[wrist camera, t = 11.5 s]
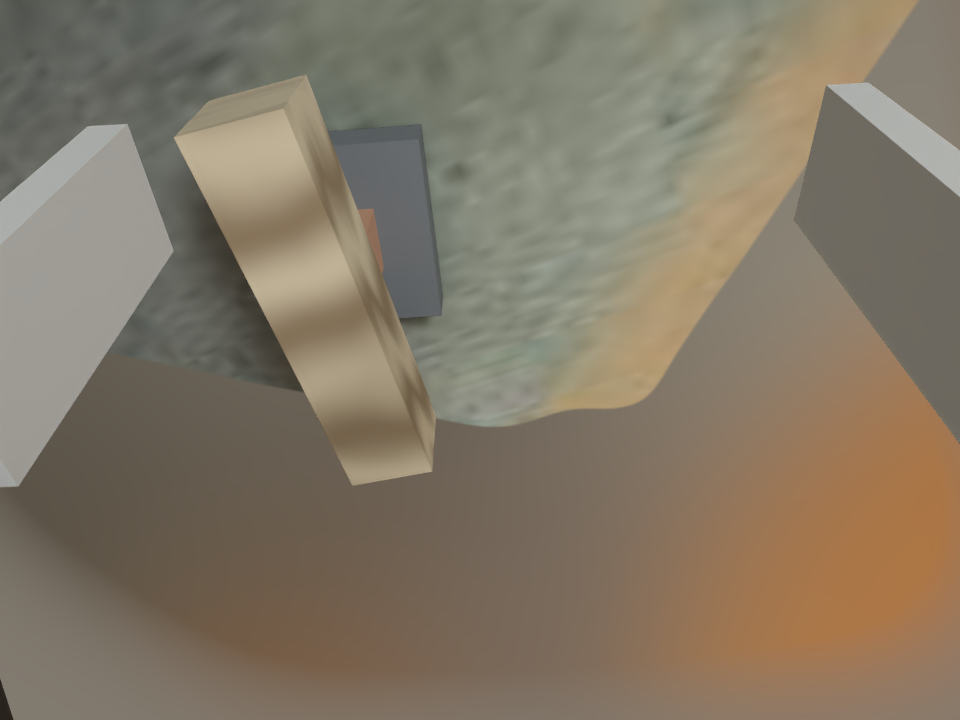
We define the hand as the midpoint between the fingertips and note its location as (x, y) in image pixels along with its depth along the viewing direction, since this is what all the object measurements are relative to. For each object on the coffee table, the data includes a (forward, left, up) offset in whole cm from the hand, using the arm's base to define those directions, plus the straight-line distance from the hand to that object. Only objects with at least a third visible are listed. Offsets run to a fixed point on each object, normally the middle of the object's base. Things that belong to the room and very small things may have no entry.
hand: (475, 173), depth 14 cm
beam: (+15, -9, -22) cm, 28 cm away
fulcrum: (+15, -9, -29) cm, 34 cm away
